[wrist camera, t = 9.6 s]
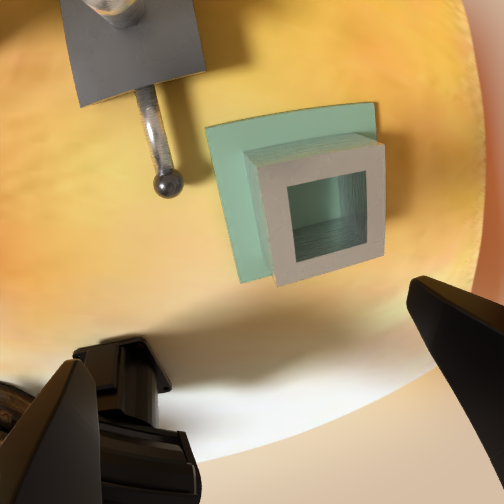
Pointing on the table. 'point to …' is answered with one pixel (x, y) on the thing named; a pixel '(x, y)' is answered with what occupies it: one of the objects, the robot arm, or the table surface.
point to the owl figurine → (12, 408)
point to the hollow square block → (328, 232)
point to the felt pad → (300, 196)
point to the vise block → (134, 62)
